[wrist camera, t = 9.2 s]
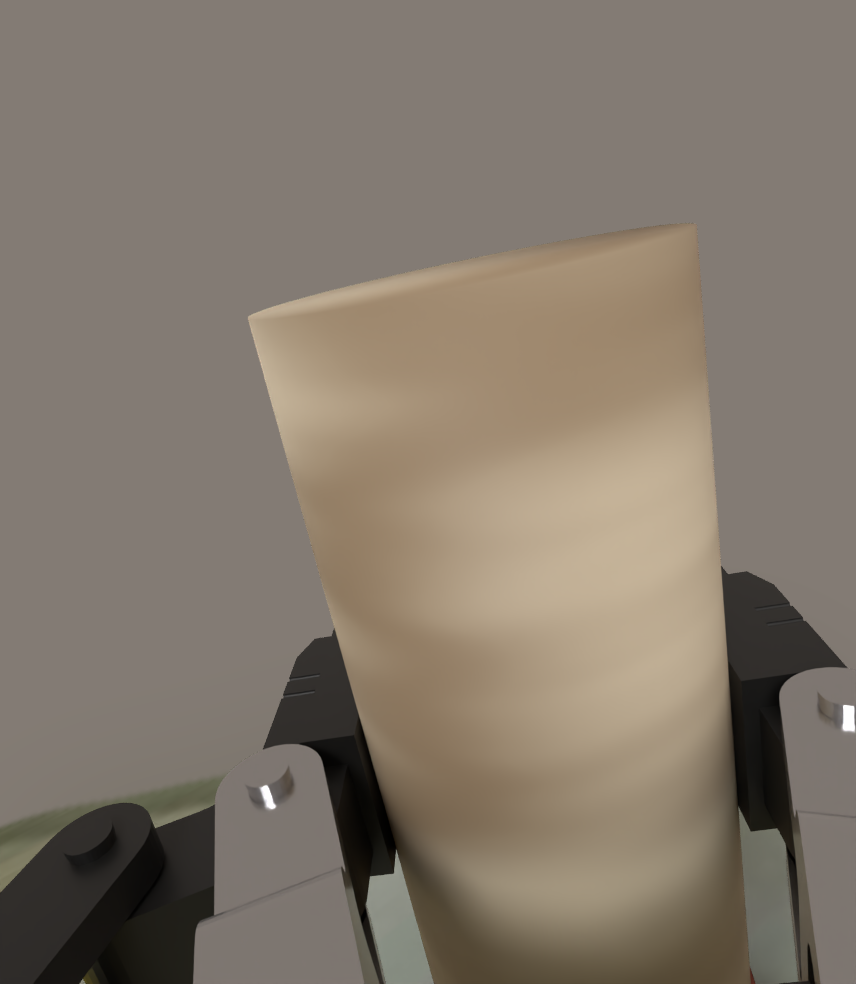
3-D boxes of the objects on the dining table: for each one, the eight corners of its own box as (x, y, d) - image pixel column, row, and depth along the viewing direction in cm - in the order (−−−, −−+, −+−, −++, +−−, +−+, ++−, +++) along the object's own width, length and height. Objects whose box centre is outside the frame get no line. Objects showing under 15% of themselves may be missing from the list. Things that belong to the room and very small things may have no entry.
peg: (418, 1131, 13) (161, 332, 8) (581, 931, 15) (462, 256, 11) (668, 1428, 9) (468, 298, 4) (820, 1098, 12) (796, 199, 7)
